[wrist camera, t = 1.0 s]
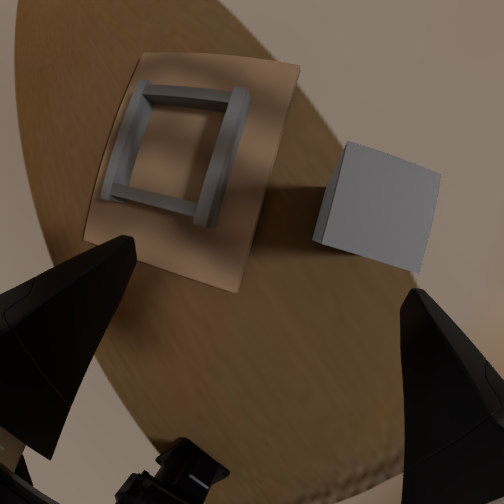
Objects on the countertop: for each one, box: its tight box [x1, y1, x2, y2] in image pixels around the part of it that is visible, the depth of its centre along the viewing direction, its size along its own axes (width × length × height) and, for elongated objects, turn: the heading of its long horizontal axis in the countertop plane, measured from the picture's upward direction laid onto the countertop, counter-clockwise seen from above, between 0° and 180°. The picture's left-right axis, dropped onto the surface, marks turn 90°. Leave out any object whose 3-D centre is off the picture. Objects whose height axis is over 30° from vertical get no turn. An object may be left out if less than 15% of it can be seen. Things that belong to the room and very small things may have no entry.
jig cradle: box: [83, 52, 300, 293], centre depth 23 cm, size 20×16×4 cm
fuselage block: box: [312, 141, 441, 274], centre depth 17 cm, size 4×4×12 cm
